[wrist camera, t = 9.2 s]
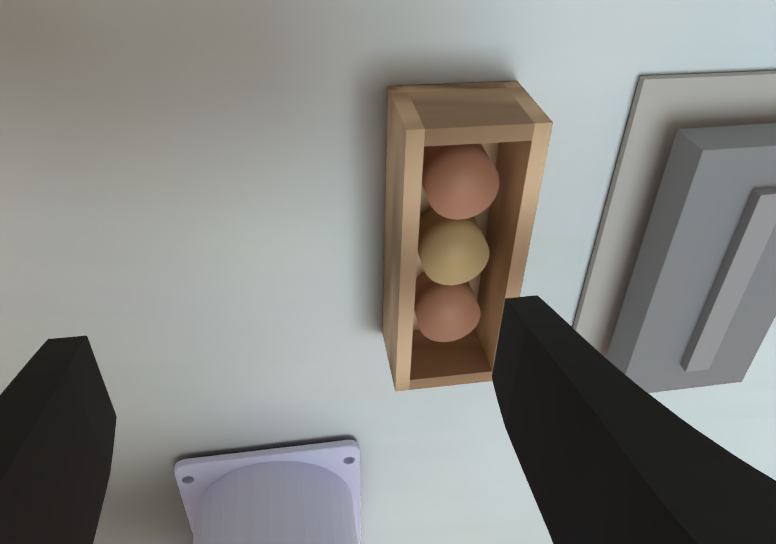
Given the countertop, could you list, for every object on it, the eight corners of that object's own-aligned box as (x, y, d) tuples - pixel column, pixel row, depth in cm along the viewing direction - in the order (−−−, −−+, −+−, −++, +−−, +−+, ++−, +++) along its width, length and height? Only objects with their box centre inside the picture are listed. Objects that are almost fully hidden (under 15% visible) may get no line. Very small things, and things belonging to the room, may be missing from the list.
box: (481, 324, 26) (503, 379, 23) (382, 333, 25) (395, 391, 23) (517, 81, 19) (552, 122, 17) (387, 86, 19) (406, 130, 17)
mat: (721, 364, 30) (725, 369, 29) (557, 382, 29) (560, 387, 28) (865, 66, 21) (872, 70, 21) (639, 76, 20) (644, 79, 20)
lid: (713, 346, 28) (747, 389, 26) (596, 359, 28) (622, 404, 26) (819, 112, 22) (875, 145, 20) (668, 121, 21) (710, 156, 19)
